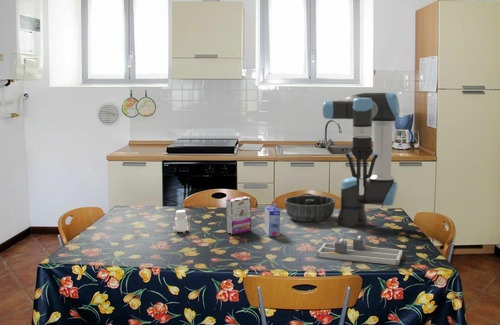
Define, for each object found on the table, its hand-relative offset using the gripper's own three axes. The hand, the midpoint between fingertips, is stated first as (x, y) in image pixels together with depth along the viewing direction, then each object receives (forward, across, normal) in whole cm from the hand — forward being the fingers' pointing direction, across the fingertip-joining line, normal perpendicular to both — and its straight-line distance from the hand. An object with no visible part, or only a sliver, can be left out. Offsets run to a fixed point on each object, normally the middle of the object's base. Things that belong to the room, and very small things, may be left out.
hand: (361, 194), depth 231 cm
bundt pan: (+27, -35, +50) cm, 67 cm away
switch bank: (+25, +1, -7) cm, 26 cm away
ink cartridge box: (+26, -44, +17) cm, 54 cm away
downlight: (+26, -87, +8) cm, 91 cm away
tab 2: (+24, 0, -4) cm, 24 cm away
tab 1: (+24, -6, -10) cm, 26 cm away
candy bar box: (+26, -60, +15) cm, 67 cm away
